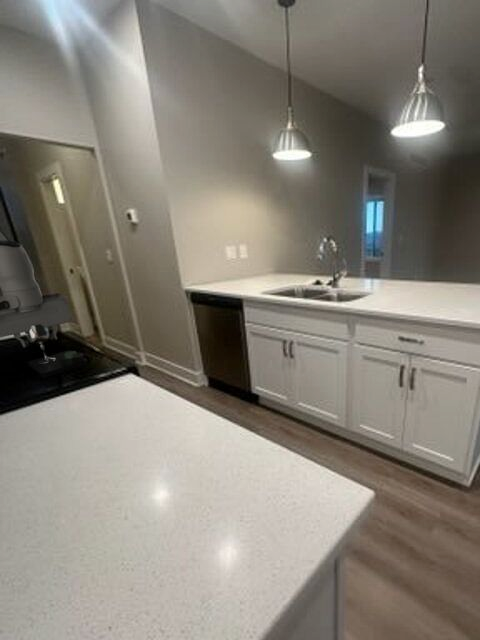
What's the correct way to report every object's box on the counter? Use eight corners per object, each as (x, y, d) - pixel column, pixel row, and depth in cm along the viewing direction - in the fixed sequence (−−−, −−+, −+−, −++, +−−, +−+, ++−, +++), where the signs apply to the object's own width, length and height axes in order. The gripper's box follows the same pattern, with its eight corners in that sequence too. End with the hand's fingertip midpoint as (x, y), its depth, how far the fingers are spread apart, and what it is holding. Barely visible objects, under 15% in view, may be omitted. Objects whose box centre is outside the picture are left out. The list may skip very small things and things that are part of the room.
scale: (44, 378, 99) (40, 368, 98) (28, 365, 109) (25, 357, 108) (88, 364, 108) (85, 355, 106) (70, 353, 117) (68, 345, 116)
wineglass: (61, 358, 109) (49, 322, 105) (41, 365, 105) (27, 327, 100) (52, 356, 112) (39, 320, 108) (32, 362, 108) (18, 325, 103)
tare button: (67, 360, 104) (66, 355, 104) (64, 358, 106) (62, 353, 106) (79, 357, 106) (77, 352, 106) (75, 354, 108) (74, 350, 108)
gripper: (60, 291, 110) (74, 332, 115) (-22, 304, 96) (-3, 351, 101) (67, 293, 106) (80, 335, 111) (-18, 307, 92) (2, 355, 97)
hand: (40, 343), depth 106 cm, fingers open, 6 cm apart
